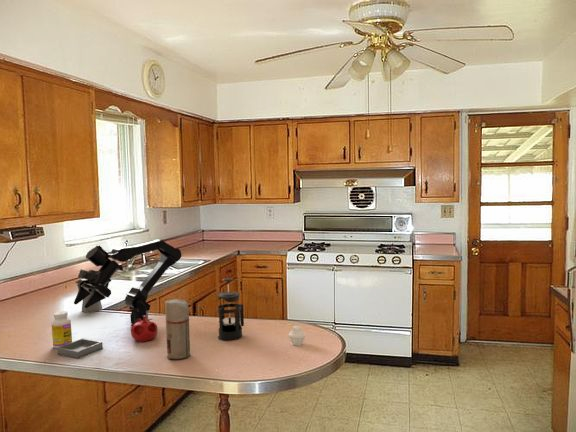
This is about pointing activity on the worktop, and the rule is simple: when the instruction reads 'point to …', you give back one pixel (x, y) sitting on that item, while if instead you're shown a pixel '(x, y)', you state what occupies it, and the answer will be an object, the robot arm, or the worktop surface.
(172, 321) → the spray can
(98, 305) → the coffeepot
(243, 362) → the worktop surface
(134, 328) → the red ball with holes
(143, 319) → the robot arm
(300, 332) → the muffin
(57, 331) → the supplement bottle
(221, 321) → the french press
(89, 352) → the tray
